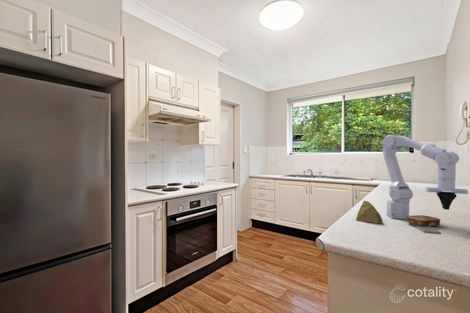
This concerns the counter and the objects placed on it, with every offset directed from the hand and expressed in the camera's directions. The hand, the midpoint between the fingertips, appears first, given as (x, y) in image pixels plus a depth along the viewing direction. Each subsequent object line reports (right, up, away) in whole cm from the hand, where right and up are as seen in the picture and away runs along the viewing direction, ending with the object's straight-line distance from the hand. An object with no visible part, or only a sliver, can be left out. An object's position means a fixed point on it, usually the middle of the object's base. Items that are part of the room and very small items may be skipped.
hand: (445, 209), depth 101 cm
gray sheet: (-8, -9, +2) cm, 12 cm away
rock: (-28, -9, +10) cm, 31 cm away
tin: (-4, -7, +2) cm, 9 cm away
